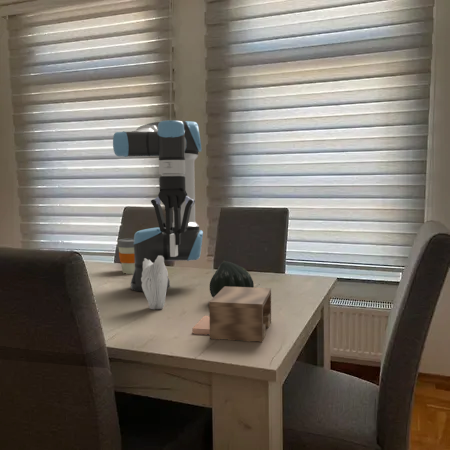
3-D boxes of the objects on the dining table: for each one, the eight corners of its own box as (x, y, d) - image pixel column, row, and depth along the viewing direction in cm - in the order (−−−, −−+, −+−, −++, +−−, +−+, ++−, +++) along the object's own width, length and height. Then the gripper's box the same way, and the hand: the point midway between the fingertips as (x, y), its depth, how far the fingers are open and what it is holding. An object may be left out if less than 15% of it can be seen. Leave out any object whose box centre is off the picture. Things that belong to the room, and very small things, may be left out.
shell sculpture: (143, 305, 157) (142, 252, 155) (168, 304, 157) (167, 252, 156) (141, 312, 148) (139, 256, 147) (167, 311, 149) (166, 256, 147)
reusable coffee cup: (132, 275, 206) (131, 242, 204) (112, 273, 213) (111, 240, 211) (152, 271, 216) (151, 239, 215) (132, 268, 223) (131, 237, 222)
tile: (192, 335, 128) (192, 328, 127) (204, 322, 139) (204, 315, 139) (257, 340, 124) (257, 332, 123) (264, 325, 135) (264, 319, 135)
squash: (266, 289, 154) (247, 252, 162) (228, 297, 147) (210, 258, 154) (249, 309, 165) (232, 273, 172) (212, 318, 157) (196, 280, 164)
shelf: (209, 338, 123) (209, 301, 122) (224, 318, 141) (224, 286, 140) (262, 342, 120) (262, 304, 119) (271, 321, 137) (271, 288, 136)
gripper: (146, 175, 132) (148, 257, 135) (190, 175, 129) (191, 258, 132) (155, 175, 139) (157, 253, 142) (197, 175, 137) (199, 254, 139)
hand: (174, 255), depth 137 cm, fingers closed
